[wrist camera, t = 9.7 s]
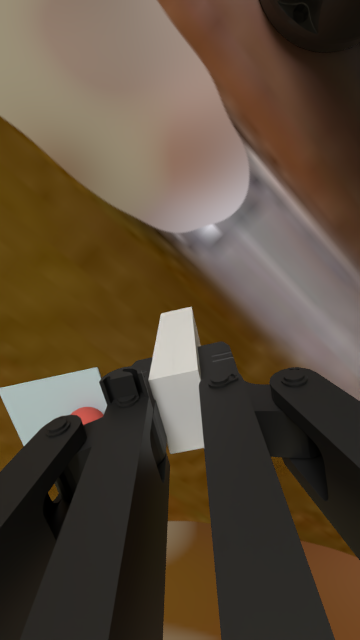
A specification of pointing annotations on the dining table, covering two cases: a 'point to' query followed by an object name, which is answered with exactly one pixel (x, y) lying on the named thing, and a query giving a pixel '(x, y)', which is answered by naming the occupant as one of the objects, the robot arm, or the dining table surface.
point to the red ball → (88, 414)
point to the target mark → (51, 399)
